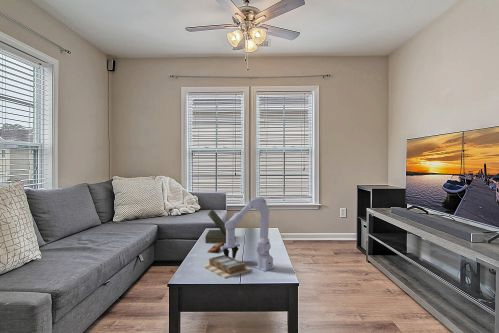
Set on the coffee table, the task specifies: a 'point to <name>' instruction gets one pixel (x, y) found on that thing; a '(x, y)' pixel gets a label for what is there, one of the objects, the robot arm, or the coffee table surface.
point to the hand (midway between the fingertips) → (230, 259)
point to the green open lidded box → (216, 235)
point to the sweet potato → (216, 248)
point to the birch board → (222, 273)
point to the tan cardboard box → (227, 264)
